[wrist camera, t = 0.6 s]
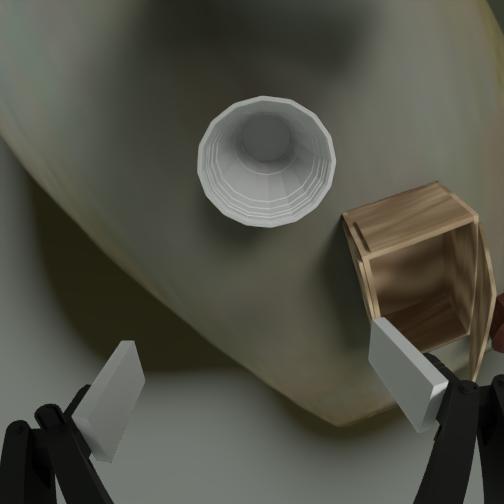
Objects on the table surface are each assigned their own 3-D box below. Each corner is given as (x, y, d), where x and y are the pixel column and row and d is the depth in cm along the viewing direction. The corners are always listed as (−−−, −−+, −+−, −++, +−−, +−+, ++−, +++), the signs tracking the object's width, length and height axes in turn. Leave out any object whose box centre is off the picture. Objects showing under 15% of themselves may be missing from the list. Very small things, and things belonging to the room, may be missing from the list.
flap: (477, 222, 25) (492, 294, 18) (481, 221, 24) (496, 294, 18) (469, 333, 33) (466, 398, 26) (472, 333, 33) (469, 398, 26)
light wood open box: (337, 211, 36) (356, 254, 28) (437, 177, 33) (478, 210, 24) (368, 322, 46) (382, 370, 38) (445, 293, 43) (469, 336, 34)
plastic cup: (317, 180, 35) (336, 227, 24) (226, 185, 36) (207, 233, 26) (314, 89, 29) (337, 94, 19) (215, 95, 30) (187, 104, 20)
